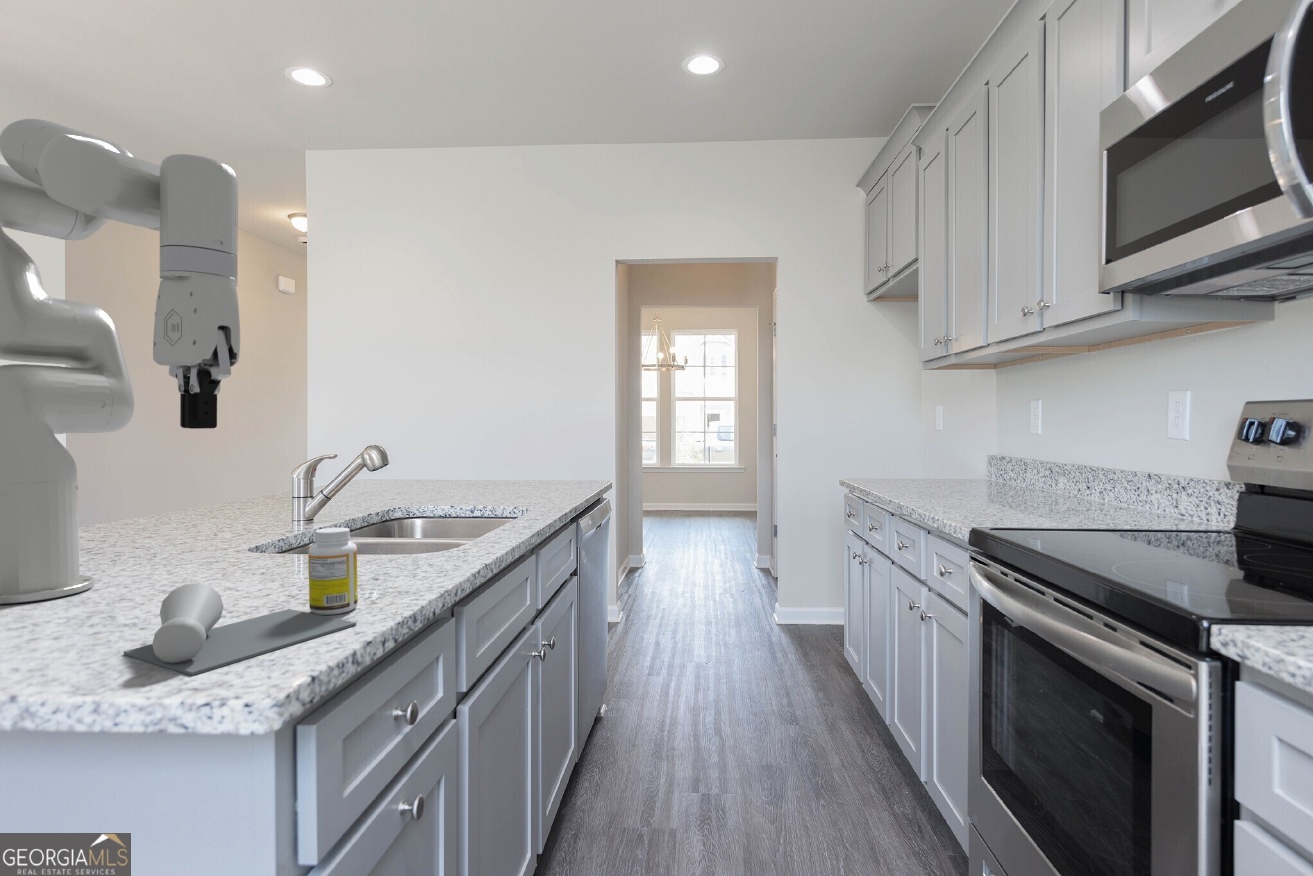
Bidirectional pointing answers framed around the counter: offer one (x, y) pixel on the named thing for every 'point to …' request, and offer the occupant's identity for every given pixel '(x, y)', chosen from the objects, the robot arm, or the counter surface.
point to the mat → (249, 639)
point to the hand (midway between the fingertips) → (198, 427)
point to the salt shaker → (186, 622)
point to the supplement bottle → (332, 572)
